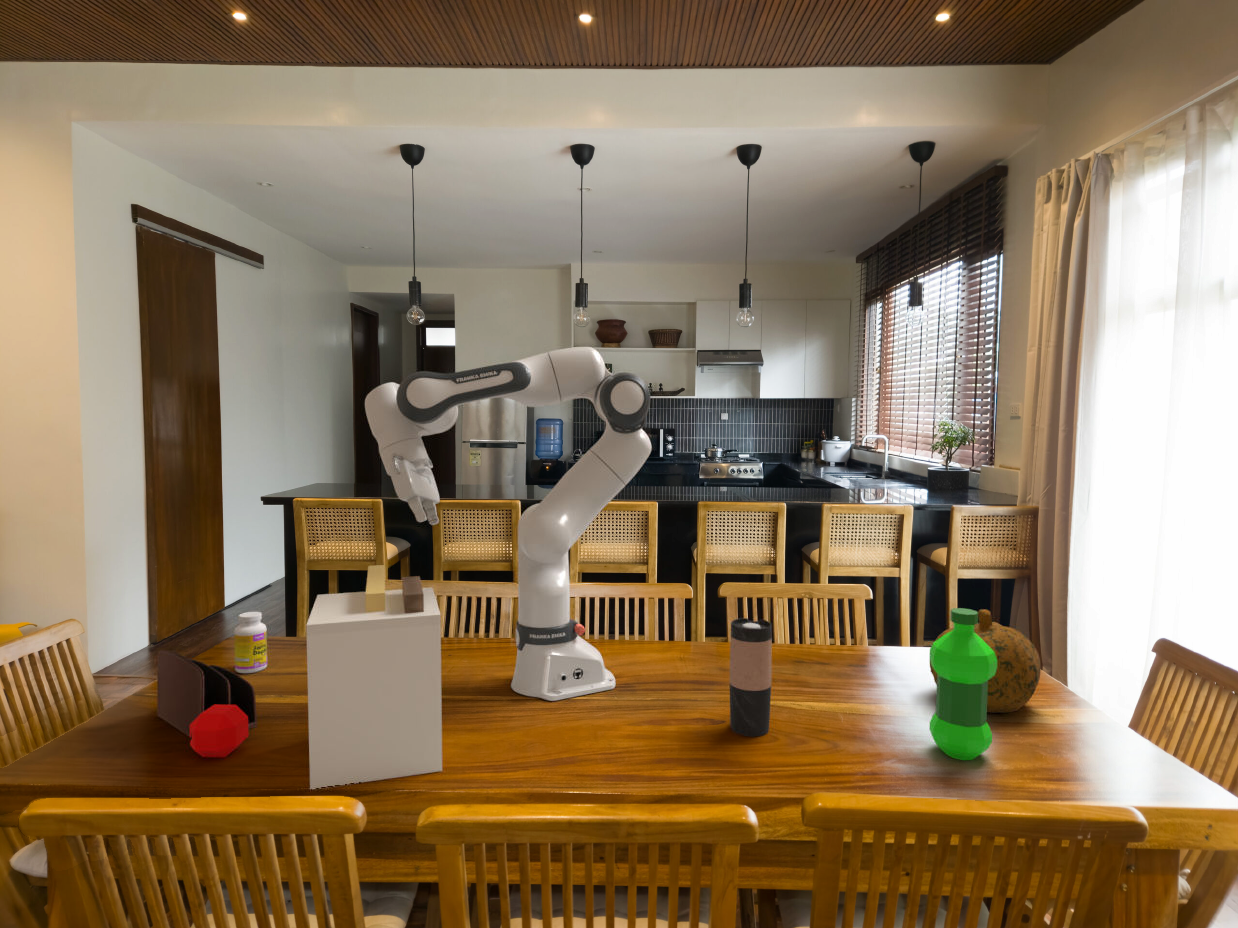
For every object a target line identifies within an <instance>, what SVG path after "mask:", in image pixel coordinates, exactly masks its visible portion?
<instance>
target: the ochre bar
mask: <svg viewBox="0 0 1238 928" xmlns="http://www.w3.org/2000/svg"><path fill="white" fill-rule="evenodd" d="M385 570H386V566H385V564H380V565H379V564H378V565H368V567H367V577H366V585H365V592H366V612H378V611H385V590H386V572H385Z"/></svg>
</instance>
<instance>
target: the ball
mask: <svg viewBox="0 0 1238 928" xmlns="http://www.w3.org/2000/svg"><path fill="white" fill-rule="evenodd" d="M249 730H250V729H249ZM249 730H248V716H247V715H246V714H245V713H244V712H243V711H242V710H241V709H240V708H239V707H238V706H237V705H219V704H214V705H213V706H211V707H210V708H208V709H207V710H205V711H204V712H202V713H201V714H200V715H199V716H198V717H197V718H196V719H195V720H194V721H193V722H192V723H191V724H190V737H189V739H190V741H189V746H190V747H191V748H192V749H193V751H194V752H196V753H197V755H200V756H201V757H202V758H226V757H228V756H229V755H230V754H231V753H232V752H233V751H234V750H236V749H238V747H239V746H240V745H241V744H243V742H244V741H245V740H247V738H249V736H250V735H249V732H250V731H249Z"/></svg>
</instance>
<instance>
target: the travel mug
mask: <svg viewBox="0 0 1238 928" xmlns="http://www.w3.org/2000/svg"><path fill="white" fill-rule="evenodd" d="M772 626H773V625H772V623H771V622H770V621H768V620H765V619H759V620H755V621H754V620H753V621H752V620H749V619H748V618H746V617H740V618H735V619H733V620H732V621H731V622H730V646H729V648H730V649H729V650H730V651H729V653H730V654H729V658H730V659H729V719H730V720H729V721H730V722H729V725H730V729H731V730H732V732H733V733H736V734H738V735H740V736H745V737H760V736H765V735H766V734H768V732H769V730H770V717H771V715H770V714H771V700H772V699H771V695H772V648H773V647H772V646H773V645H772V643H773V642H772V640H773V639H772V637H773V634H772V633H773V632H772V628H773V627H772Z"/></svg>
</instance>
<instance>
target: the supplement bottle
mask: <svg viewBox="0 0 1238 928" xmlns="http://www.w3.org/2000/svg"><path fill="white" fill-rule="evenodd" d="M261 620H262V612H261V611H247V612H243V613H241V614H239V615H238V622H239V625H237V626H236V627H235V628H234V630H233V638H234V644H233V645H234V670H235V672H236V673H239V674H255V673H258V672H261V671H263V670H265V669H266V668H267V666H268V641H267V640H268V636H267V635H268V633H267V630H268V629H267V626H266V624H265V623H263V622H261Z"/></svg>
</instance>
